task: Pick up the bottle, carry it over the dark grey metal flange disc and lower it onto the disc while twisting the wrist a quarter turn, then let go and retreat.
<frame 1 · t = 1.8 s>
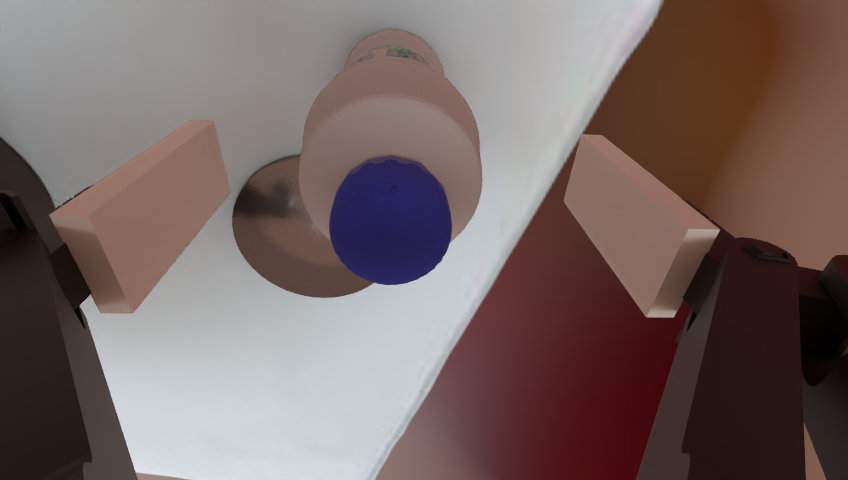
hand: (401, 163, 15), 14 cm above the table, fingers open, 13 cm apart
bottle: (394, 78, 27), on the table
flange disc: (319, 230, 33), on the table
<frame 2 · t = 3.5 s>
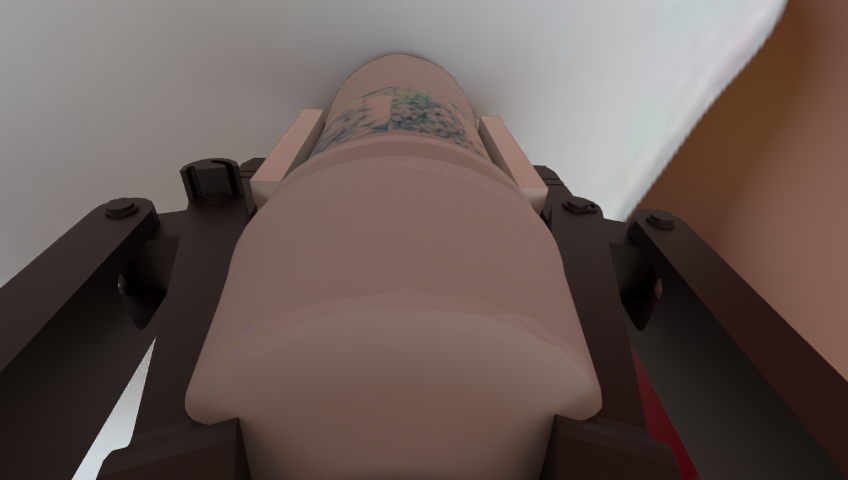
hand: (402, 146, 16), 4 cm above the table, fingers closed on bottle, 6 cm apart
bottle: (402, 117, 20), on the table, touching gripper
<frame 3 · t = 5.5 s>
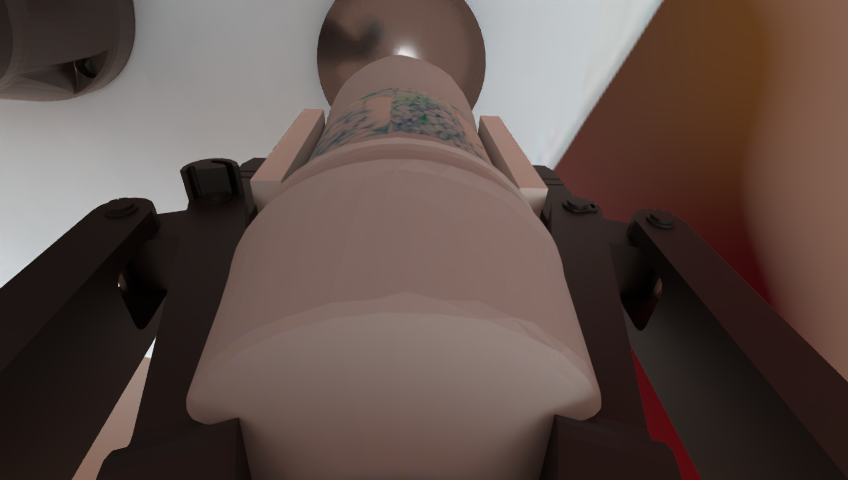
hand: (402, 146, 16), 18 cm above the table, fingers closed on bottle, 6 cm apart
bottle: (402, 117, 20), point 14 cm above the table, touching gripper
flange disc: (402, 67, 32), on the table
when the fingers open (6 cm above the table, at t = 7.8 s): bottle drops 1 cm, resting on flange disc.
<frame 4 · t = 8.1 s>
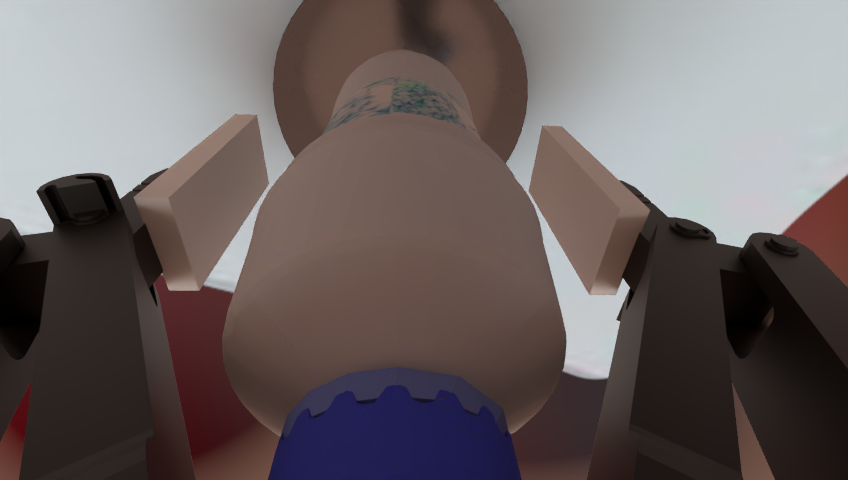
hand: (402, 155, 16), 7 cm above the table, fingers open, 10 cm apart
bottle: (403, 109, 21), point 1 cm above the table, touching flange disc
flange disc: (402, 105, 22), on the table
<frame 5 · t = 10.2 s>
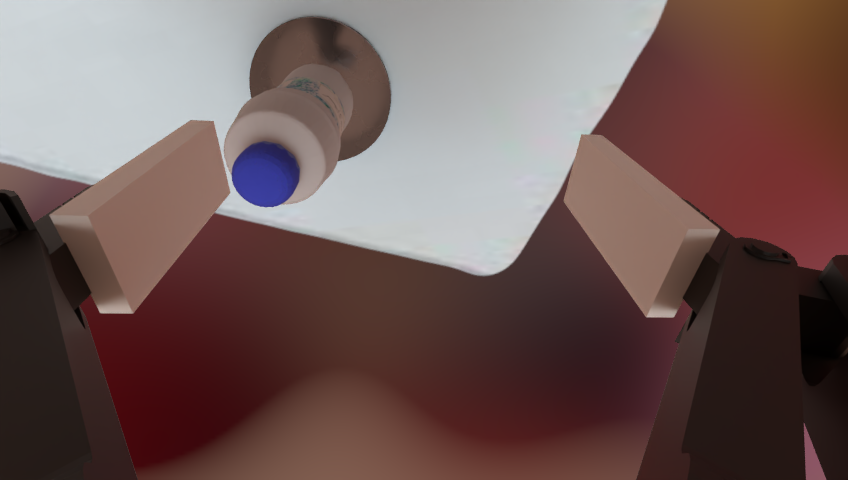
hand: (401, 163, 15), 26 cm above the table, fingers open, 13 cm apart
bottle: (322, 95, 38), point 1 cm above the table, touching flange disc
flange disc: (322, 94, 39), on the table
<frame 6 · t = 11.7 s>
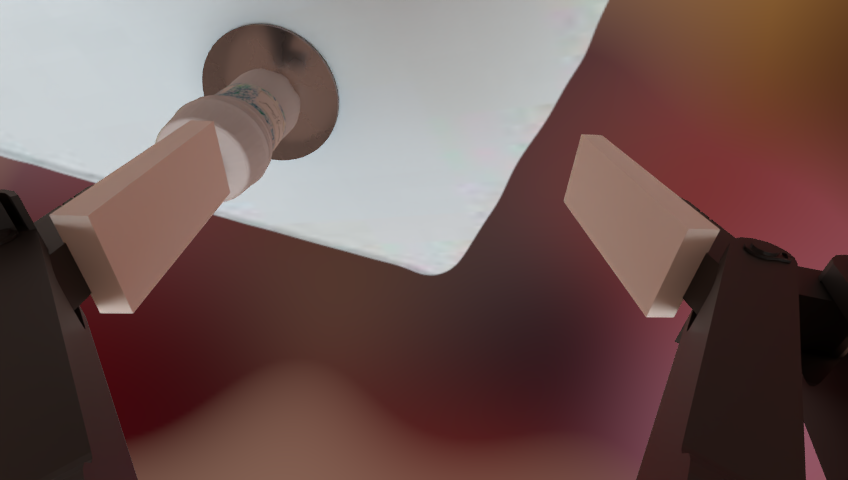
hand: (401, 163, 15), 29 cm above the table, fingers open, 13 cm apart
bottle: (272, 98, 40), point 1 cm above the table, touching flange disc
flange disc: (273, 96, 41), on the table
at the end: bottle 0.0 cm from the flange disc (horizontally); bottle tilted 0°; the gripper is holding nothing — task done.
